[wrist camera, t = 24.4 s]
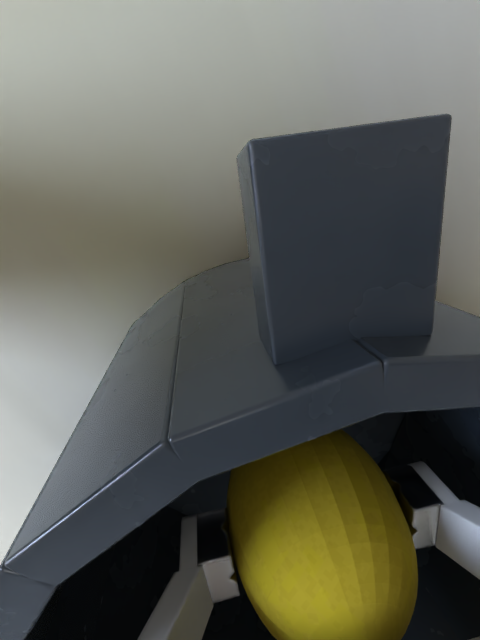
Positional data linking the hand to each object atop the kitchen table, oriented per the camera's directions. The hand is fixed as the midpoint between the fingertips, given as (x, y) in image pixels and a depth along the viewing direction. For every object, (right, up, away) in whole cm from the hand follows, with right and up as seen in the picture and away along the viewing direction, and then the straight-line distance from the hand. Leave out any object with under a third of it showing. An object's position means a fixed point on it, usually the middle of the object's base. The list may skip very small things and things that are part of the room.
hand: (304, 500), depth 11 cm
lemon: (0, +1, +4) cm, 4 cm away
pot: (-1, +2, +5) cm, 5 cm away
